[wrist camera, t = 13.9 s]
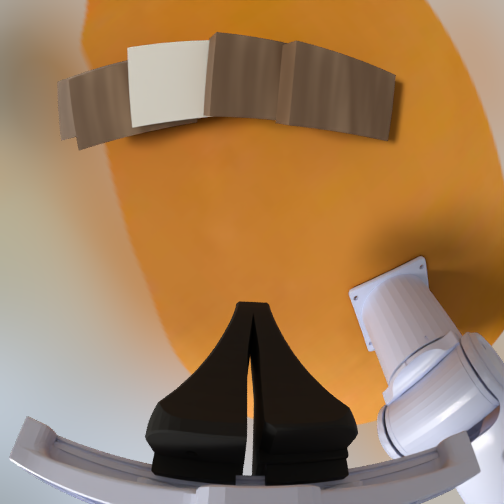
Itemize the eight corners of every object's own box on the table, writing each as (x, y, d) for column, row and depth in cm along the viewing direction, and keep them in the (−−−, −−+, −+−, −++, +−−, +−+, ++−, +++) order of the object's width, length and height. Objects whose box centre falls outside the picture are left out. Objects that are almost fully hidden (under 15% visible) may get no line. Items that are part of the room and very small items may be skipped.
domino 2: (189, 51, 14) (68, 79, 12) (197, 122, 17) (78, 150, 15) (186, 56, 16) (74, 82, 14) (194, 121, 18) (84, 147, 16)
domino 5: (395, 75, 15) (296, 40, 12) (387, 141, 17) (288, 125, 14) (379, 74, 16) (282, 44, 13) (372, 136, 18) (275, 122, 15)
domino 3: (259, 41, 14) (127, 47, 12) (262, 113, 16) (132, 127, 14) (249, 46, 15) (128, 54, 13) (252, 113, 18) (132, 127, 15)
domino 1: (147, 55, 15) (57, 81, 15) (149, 122, 17) (61, 140, 17) (155, 59, 16) (68, 82, 16) (157, 121, 18) (71, 137, 19)
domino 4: (338, 57, 14) (216, 32, 12) (331, 127, 17) (209, 116, 14) (324, 59, 16) (209, 38, 13) (317, 124, 18) (203, 115, 15)
